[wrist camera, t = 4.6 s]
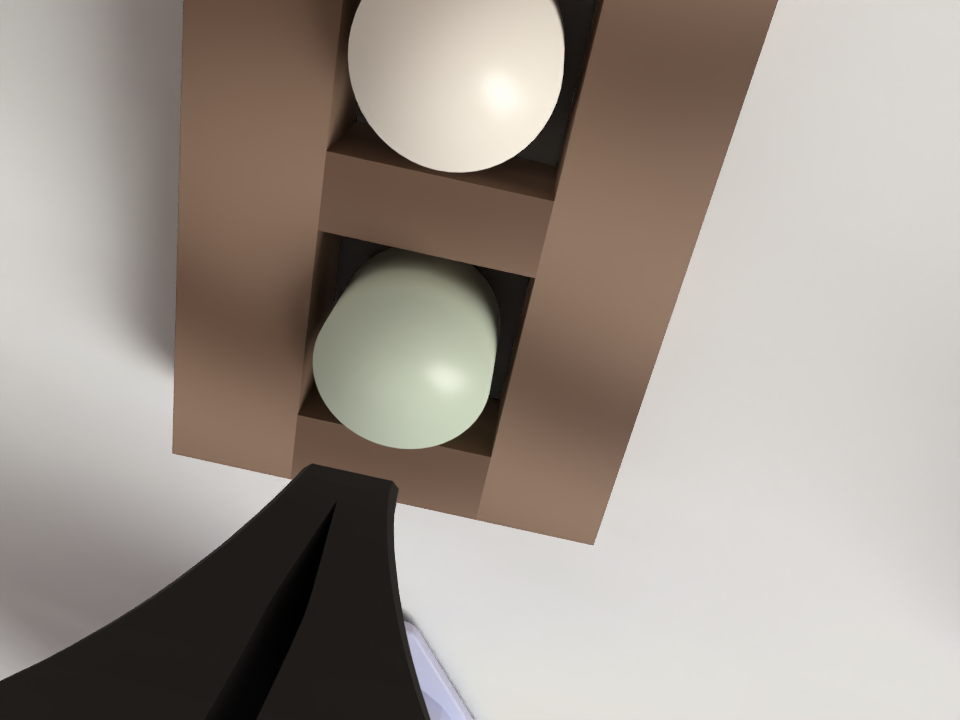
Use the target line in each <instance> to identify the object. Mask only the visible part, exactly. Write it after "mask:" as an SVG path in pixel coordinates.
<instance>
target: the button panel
mask: <svg viewBox="0 0 960 720" xmlns="http://www.w3.org/2000/svg"><path fill="white" fill-rule="evenodd" d="M360 2H361V0H184V3H183V43H182V84H181V124H180V164H179V204H178V245H177V285H176V325H175V365H174V406H173V446H172V453H173V454H178V455H182V456H187V457H191V458H196V459H200V460H205V461H210V462H214V463H219V464H223V465H228V466H232V467H237V468H242V469H246V470H251V471H255V472H260V473H264V474H269V475H274V476H278V477H283V478H287V479H292V480H293V479H294V478H295V477H296V476H297V475H298V473H299V472H300V471H301V470H302V469H303V468H304V467H306V466H308V465H310V464H312V463H313V464H318V465H322V466H327V467H331V468H336V469H340V470H345V471H350V472H354V473H359V474H363V475H368V476H372V477H377V478H382V479H386V480H391V481H393V482H394V483H395V484H396V486H397V487H398V489H399V491H398V497H397V503H402V504H406V505H411V506H415V507H420V508H425V509H429V510H434V511H438V512H443V513H448V514H452V515H457V516H461V517H466V518H470V519H475V520H480V521H484V522H489V523H493V524H498V525H502V526H507V527H512V528H516V529H521V530H525V531H530V532H534V533H539V534H544V535H548V536H553V537H557V538H562V539H567V540H571V541H576V542H580V543H585V544H589V545H594V542H595V539H596V536H597V533H598V530H599V527H600V524H601V521H602V518H603V516H604V513H605V510H606V507H607V504H608V501H609V498H610V495H611V492H612V489H613V486H614V483H615V480H616V477H617V474H618V471H619V468H620V465H621V462H622V459H623V457H624V454H625V451H626V448H627V445H628V442H629V439H630V436H631V433H632V430H633V427H634V424H635V421H636V418H637V415H638V412H639V409H640V406H641V403H642V400H643V398H644V395H645V392H646V389H647V386H648V383H649V380H650V377H651V374H652V371H653V368H654V365H655V362H656V359H657V356H658V353H659V350H660V347H661V344H662V341H663V339H664V336H665V333H666V330H667V327H668V324H669V321H670V318H671V315H672V312H673V309H674V306H675V303H676V300H677V297H678V294H679V291H680V288H681V285H682V282H683V280H684V277H685V274H686V271H687V268H688V265H689V262H690V259H691V256H692V253H693V250H694V247H695V244H696V241H697V238H698V235H699V232H700V229H701V226H702V223H703V221H704V218H705V215H706V212H707V209H708V206H709V203H710V200H711V197H712V194H713V191H714V188H715V185H716V182H717V179H718V176H719V173H720V170H721V167H722V164H723V162H724V159H725V156H726V153H727V150H728V147H729V144H730V141H731V138H732V135H733V132H734V129H735V126H736V123H737V120H738V117H739V114H740V111H741V108H742V105H743V103H744V100H745V97H746V94H747V91H748V88H749V85H750V82H751V79H752V76H753V73H754V70H755V67H756V64H757V61H758V58H759V55H760V52H761V49H762V46H763V44H764V41H765V38H766V35H767V32H768V29H769V26H770V23H771V20H772V17H773V14H774V11H775V8H776V5H777V2H778V0H597V2H596V6H595V10H594V15H593V19H592V23H591V27H590V31H589V35H588V39H587V43H586V47H585V52H584V56H583V60H582V64H581V68H580V72H579V76H578V80H577V84H576V89H575V93H574V97H573V101H572V105H571V109H570V113H569V117H568V121H567V126H566V130H565V134H564V138H563V142H562V146H561V150H560V154H559V158H558V163H557V167H556V166H552V165H547V164H543V163H538V162H534V161H529V160H525V159H520V158H516V157H512V158H510V159H508V160H506V161H505V162H503V163H501V164H498V165H495V166H493V167H490V168H487V169H483V170H479V171H472V172H446V171H439V170H434V169H431V168H428V167H424V166H422V165H419V164H417V163H415V162H412V161H410V160H409V159H407V158H405V157H404V156H402V155H400V154H399V153H397V152H396V151H395V150H394V149H392V148H391V147H390V146H388V145H387V144H386V143H385V142H384V141H383V140H382V139H381V138H380V137H379V136H378V135H377V133H376V132H375V131H374V130H373V128H372V127H371V126H370V125H367V124H362V123H358V122H356V119H357V110H358V102H357V100H356V97H355V94H354V91H353V88H352V85H351V80H350V74H349V66H348V43H349V37H350V31H351V26H352V23H353V20H354V17H355V13H356V11H357V9H358V7H359V5H360ZM342 236H346V237H351V238H355V239H360V240H364V241H369V242H373V243H378V244H382V245H387V246H391V247H396V248H400V249H405V250H409V251H414V252H419V253H423V254H428V255H432V256H437V257H441V258H446V259H450V260H455V261H459V262H464V263H468V264H473V265H477V266H482V267H487V268H491V269H496V270H500V271H505V272H509V273H514V274H518V275H523V276H527V277H530V278H529V282H528V286H527V290H526V294H525V298H524V302H523V306H522V311H521V315H520V319H519V323H518V327H517V331H516V335H515V339H514V343H513V348H512V352H511V356H510V360H509V364H508V368H507V372H506V376H505V380H504V385H503V389H502V393H501V397H500V400H496V399H491V398H488V399H487V402H486V404H485V407H484V409H483V411H482V412H481V414H480V415H479V417H478V418H477V420H476V421H475V422H474V423H473V424H472V425H471V426H470V427H469V428H468V429H467V430H465V431H464V432H463V433H462V434H460V435H459V436H457V437H455V438H454V439H452V440H450V441H447V442H445V443H443V444H439V445H436V446H433V447H427V448H422V449H399V448H393V447H388V446H384V445H380V444H377V443H375V442H372V441H369V440H367V439H365V438H363V437H361V436H359V435H357V434H356V433H354V432H353V431H351V430H350V429H349V428H347V427H346V426H345V425H344V424H342V423H341V422H340V421H339V420H338V419H337V418H336V417H335V416H334V415H333V414H332V412H331V411H330V410H329V408H328V407H327V406H326V404H325V402H324V401H323V399H322V397H321V395H320V393H319V391H318V388H317V386H316V382H315V378H314V373H313V352H314V346H315V343H316V340H317V337H318V334H319V332H320V331H321V329H322V327H323V325H324V323H325V322H326V320H327V318H328V317H329V315H330V313H331V312H332V310H333V304H334V296H335V288H336V280H337V272H338V264H339V256H340V248H341V240H342Z"/></svg>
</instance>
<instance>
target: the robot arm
mask: <svg viewBox="0 0 960 720" xmlns="http://www.w3.org/2000/svg"><path fill="white" fill-rule="evenodd" d="M398 491H399V489H398V487H397V486H396V484H395V483H394V482H393V481H391V480H386V479H382V478H377V477H372V476H368V475H363V474H359V473H354V472H350V471H345V470H340V469H336V468H331V467H327V466H322V465H318V464H313V463H312V464H310V465H308V466H306V467H304V468H303V469H302V470H301V471H300V472H299V473H298V475H297V476H296V477H295V478H294V479H293V480H292V481H291V482H290V483H289V484H288V485H287V486H286V487H285V488H284V489H283V490H282V491H281V492H280V493H279V494H278V495H277V496H276V497H275V498H274V499H273V500H272V501H271V502H269V503H268V504H267V505H266V506H265V507H264V508H263V509H262V510H261V511H260V512H259V513H258V514H257V515H255V516H254V517H253V518H252V519H251V520H250V521H249V522H247V523H246V524H245V525H244V526H243V527H242V528H240V529H239V530H238V531H237V532H236V533H235V534H233V535H232V536H231V537H230V538H229V539H228V540H227V541H225V542H224V543H223V544H222V545H221V546H219V547H218V548H217V549H216V550H214V551H213V552H212V553H210V554H209V555H208V556H207V557H205V558H204V559H203V560H201V561H200V562H199V563H197V564H196V565H195V566H193V567H192V568H191V569H190V570H188V571H187V572H186V573H184V574H183V575H182V576H180V577H179V578H178V579H176V580H175V581H174V582H172V583H171V584H169V585H168V586H167V587H165V588H164V589H162V590H161V591H159V592H158V593H157V594H155V595H154V596H152V597H151V598H149V599H148V600H146V601H145V602H143V603H142V604H140V605H138V606H137V607H135V608H134V609H132V610H131V611H129V612H127V613H126V614H124V615H123V616H121V617H120V618H118V619H116V620H115V621H113V622H111V623H110V624H108V625H106V626H104V627H103V628H101V629H99V630H97V631H96V632H94V633H92V634H90V635H89V636H87V637H85V638H84V639H82V640H80V641H78V642H77V643H75V644H73V645H71V646H70V647H68V648H66V649H64V650H62V651H60V652H58V653H56V654H55V655H53V656H51V657H49V658H47V659H45V660H43V661H41V662H39V663H37V664H35V665H33V666H31V667H29V668H26V669H24V670H22V671H20V672H18V673H16V674H14V675H12V676H10V677H7V678H5V679H3V680H1V681H0V720H473V718H472V717H471V715H470V713H469V712H468V710H467V709H466V707H465V705H464V704H463V702H462V700H461V699H460V697H459V696H458V694H457V692H456V691H455V689H454V687H453V686H452V684H451V683H450V681H449V679H448V678H447V676H446V674H445V673H444V671H443V670H442V668H441V666H440V665H439V663H438V661H437V660H436V658H435V657H434V655H433V653H432V652H431V650H430V648H429V647H428V645H427V644H426V642H425V640H424V639H423V637H422V635H421V634H420V632H419V631H418V629H417V628H416V627H415V626H414V625H413V624H411V623H409V622H406V621H404V618H403V613H402V608H401V602H400V596H399V589H398V581H397V572H396V563H395V552H394V513H395V507H396V502H397V497H398Z"/></svg>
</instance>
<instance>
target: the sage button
mask: <svg viewBox="0 0 960 720" xmlns="http://www.w3.org/2000/svg"><path fill="white" fill-rule="evenodd" d="M500 324H501V318H500V311H499V306H498V303H497V299H496V297H495V295H494V293H493V290H492V289H491V287H490V285H489V284H488V282H487V281H486V279H485V278H484V277H483V276H482V274H481V273H480V272H479V271H478V270H477V269H476V268H475V267H474V266H472V265H471V264H468V263H464V262H459V261H455V260H450V259H446V258H441V257H437V256H432V255H428V254H423V253H419V252H414V251H409V250H405V249H400V248H396V247H394V248H391V249H388V250H385V251H383V252H381V253H379V254H377V255H375V256H373V257H372V258H370V259H369V260H368V261H366V262H365V263H364V264H363V265H362V266H361V267H360V268H359V269H358V270H357V272H356V273H355V274H354V276H353V277H352V279H351V280H350V282H349V284H348V285H347V287H346V289H345V290H344V292H343V293H342V295H341V297H340V298H339V300H338V302H337V303H336V305H335V307H334V308H333V310H332V312H331V313H330V315H329V317H328V318H327V320H326V322H325V323H324V325H323V327H322V329H321V331H320V332H319V334H318V337H317V340H316V343H315V346H314V352H313V373H314V378H315V382H316V386H317V388H318V391H319V393H320V395H321V397H322V399H323V401H324V402H325V404H326V406H327V407H328V408H329V410H330V411H331V412H332V414H333V415H334V416H335V417H336V418H337V419H338V420H339V421H340V422H341V423H342V424H344V425H345V426H346V427H347V428H349V429H350V430H351V431H353V432H354V433H356V434H357V435H359V436H361V437H363V438H365V439H367V440H369V441H372V442H375V443H377V444H380V445H384V446H388V447H393V448H399V449H422V448H427V447H433V446H436V445H439V444H443V443H445V442H447V441H450V440H452V439H454V438H455V437H457V436H459V435H460V434H462V433H463V432H464V431H465V430H467V429H468V428H469V427H470V426H471V425H472V424H473V423H474V422H475V421H476V420H477V418H478V417H479V415H480V414H481V412H482V411H483V409H484V407H485V404H486V402H487V399H488V396H489V393H490V387H491V381H492V375H493V370H494V364H495V358H496V352H497V346H498V340H499V334H500Z"/></svg>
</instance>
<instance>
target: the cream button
mask: <svg viewBox="0 0 960 720" xmlns="http://www.w3.org/2000/svg"><path fill="white" fill-rule="evenodd" d="M564 51H565V33H564V24H563V19H562V14H561V11H560V8H559V5H558V2H557V0H361V2H360V5H359V7H358V9H357V11H356V13H355V17H354V20H353V23H352V26H351V31H350V37H349V43H348V66H349V74H350V80H351V85H352V88H353V91H354V94H355V97H356V100H357V102H358V105H359V107H360V109H361V111H362V113H363V115H364V116H365V118H366V120H367V121H368V123H369V124H370V126H371V127H372V128H373V130H374V131H375V132H376V133H377V135H378V136H379V137H380V138H381V139H382V140H383V141H384V142H385V143H386V144H387V145H388V146H390V147H391V148H392V149H394V150H395V151H396V152H397V153H399V154H400V155H402V156H404V157H405V158H407V159H409V160H410V161H412V162H415V163H417V164H419V165H422V166H424V167H428V168H431V169H434V170H439V171H446V172H472V171H479V170H483V169H487V168H490V167H493V166H495V165H498V164H501V163H503V162H505V161H506V160H508V159H510V158H512V157H514V156H515V155H516V154H518V153H519V152H520V151H522V150H523V149H525V148H526V147H527V146H528V145H529V144H530V143H531V142H532V141H533V140H534V139H535V138H536V136H537V135H538V134H539V133H540V132H541V130H542V129H543V128H544V126H545V124H546V123H547V121H548V120H549V118H550V116H551V114H552V112H553V110H554V107H555V105H556V103H557V100H558V96H559V93H560V90H561V84H562V79H563V70H564Z"/></svg>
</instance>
